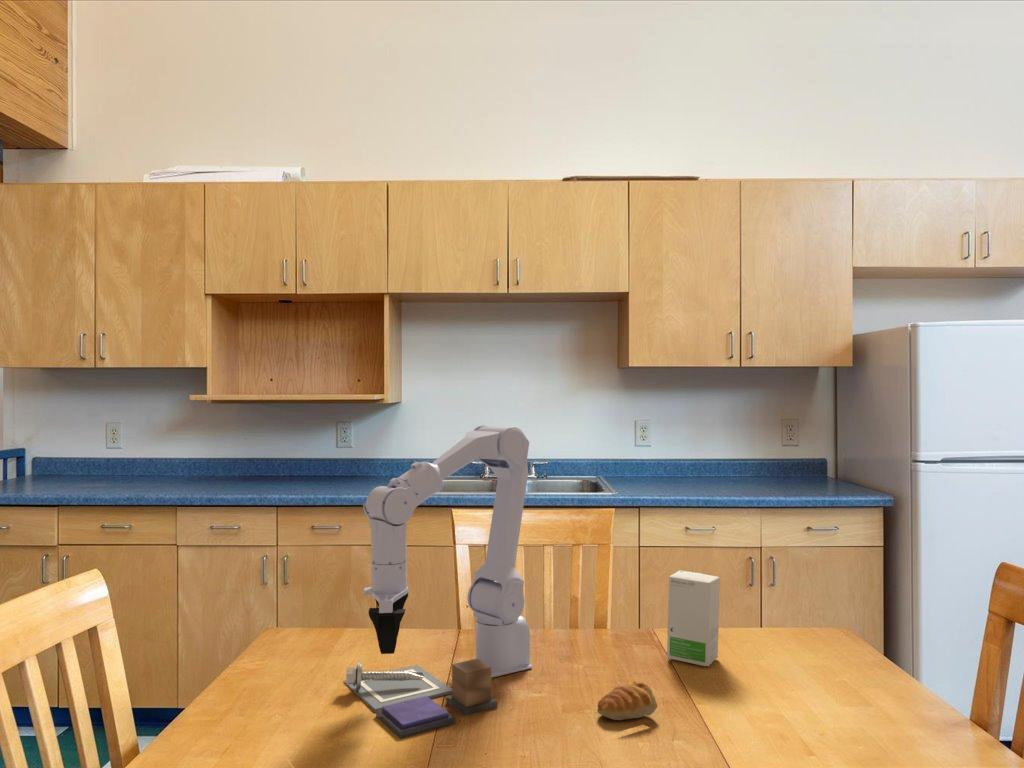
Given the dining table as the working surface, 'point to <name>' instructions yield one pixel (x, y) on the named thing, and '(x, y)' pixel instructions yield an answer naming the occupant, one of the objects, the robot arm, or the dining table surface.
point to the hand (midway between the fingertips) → (389, 644)
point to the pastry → (628, 702)
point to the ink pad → (414, 716)
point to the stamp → (471, 688)
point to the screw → (378, 676)
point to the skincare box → (693, 617)
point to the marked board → (400, 689)
